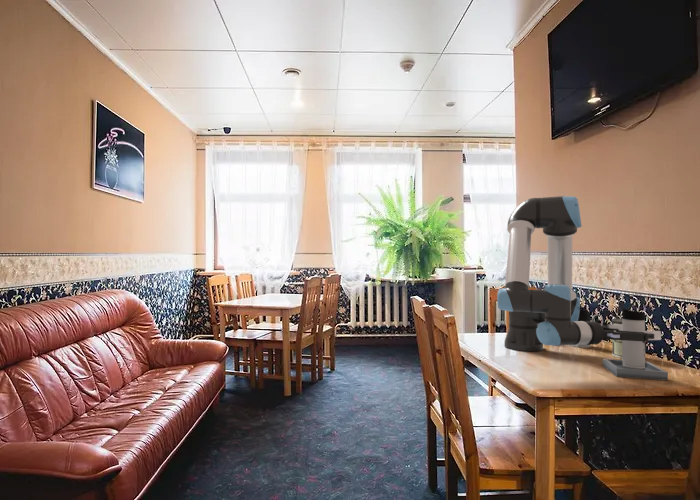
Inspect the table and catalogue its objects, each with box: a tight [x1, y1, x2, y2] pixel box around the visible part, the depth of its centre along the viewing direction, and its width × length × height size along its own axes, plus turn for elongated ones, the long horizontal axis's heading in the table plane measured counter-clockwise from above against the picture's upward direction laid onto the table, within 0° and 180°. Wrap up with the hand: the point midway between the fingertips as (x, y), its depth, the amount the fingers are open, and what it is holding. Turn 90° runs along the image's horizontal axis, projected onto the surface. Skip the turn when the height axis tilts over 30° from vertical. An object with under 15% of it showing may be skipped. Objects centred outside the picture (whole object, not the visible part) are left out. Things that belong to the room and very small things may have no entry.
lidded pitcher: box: [568, 310, 604, 349], centre depth 181 cm, size 9×14×15 cm, turn 84°
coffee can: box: [611, 318, 623, 359], centre depth 161 cm, size 10×10×14 cm
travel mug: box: [621, 308, 646, 370], centre depth 138 cm, size 6×7×20 cm
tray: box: [602, 358, 669, 381], centre depth 138 cm, size 14×14×2 cm
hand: (641, 331), depth 139 cm, fingers open, 13 cm apart
